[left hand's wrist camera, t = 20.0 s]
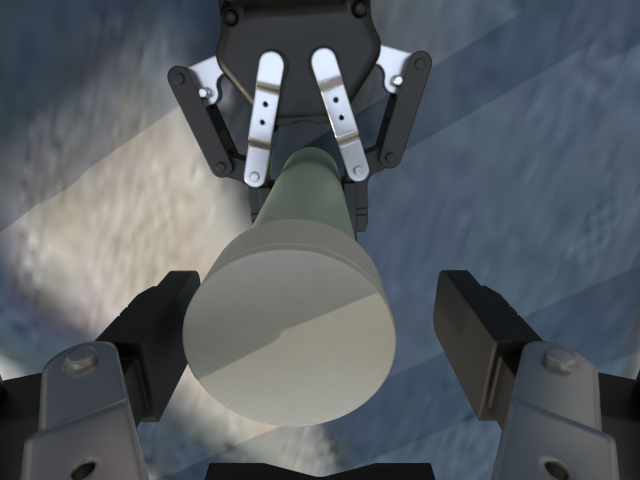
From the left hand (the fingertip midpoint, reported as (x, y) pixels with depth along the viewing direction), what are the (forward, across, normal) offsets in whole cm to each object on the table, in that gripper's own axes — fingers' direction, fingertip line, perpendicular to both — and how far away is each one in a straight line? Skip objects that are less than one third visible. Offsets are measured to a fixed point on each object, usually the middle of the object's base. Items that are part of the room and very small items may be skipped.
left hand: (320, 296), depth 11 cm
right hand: (+11, 0, -2) cm, 12 cm away
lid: (-2, -1, 0) cm, 3 cm away
